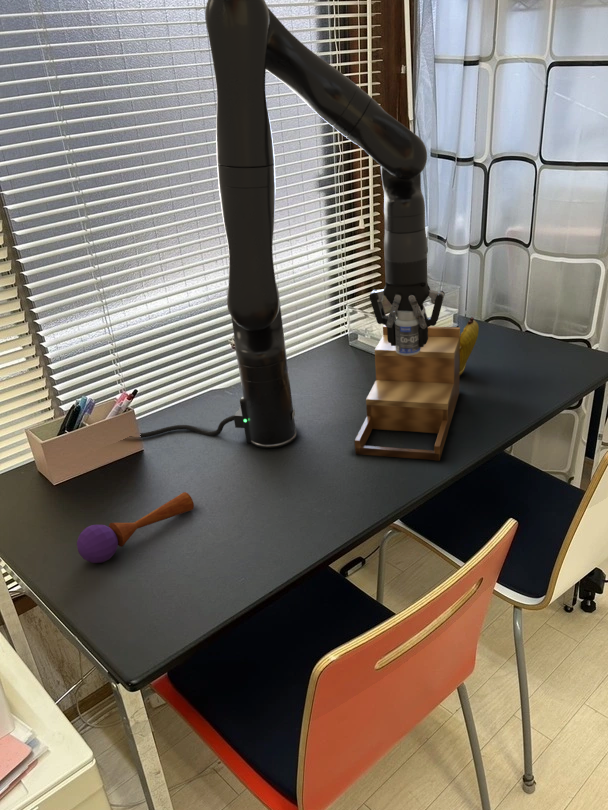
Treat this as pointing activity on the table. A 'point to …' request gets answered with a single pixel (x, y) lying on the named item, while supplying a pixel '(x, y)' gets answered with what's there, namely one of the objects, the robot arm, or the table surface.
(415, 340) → the pill bottle
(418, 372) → the stepped rack
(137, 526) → the kendama
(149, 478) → the table surface
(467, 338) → the banana bunch
